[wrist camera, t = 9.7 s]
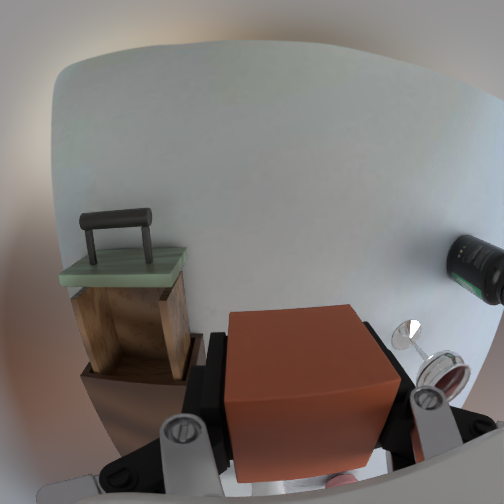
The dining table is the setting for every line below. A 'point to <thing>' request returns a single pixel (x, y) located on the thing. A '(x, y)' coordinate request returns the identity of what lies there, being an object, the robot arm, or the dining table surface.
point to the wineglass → (434, 363)
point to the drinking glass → (268, 488)
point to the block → (304, 392)
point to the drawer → (131, 303)
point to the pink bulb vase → (341, 480)
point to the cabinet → (138, 402)
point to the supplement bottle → (478, 268)
